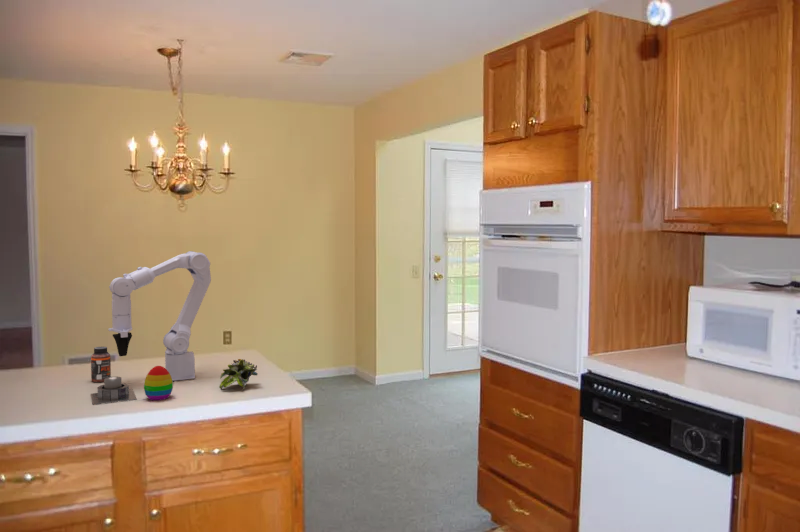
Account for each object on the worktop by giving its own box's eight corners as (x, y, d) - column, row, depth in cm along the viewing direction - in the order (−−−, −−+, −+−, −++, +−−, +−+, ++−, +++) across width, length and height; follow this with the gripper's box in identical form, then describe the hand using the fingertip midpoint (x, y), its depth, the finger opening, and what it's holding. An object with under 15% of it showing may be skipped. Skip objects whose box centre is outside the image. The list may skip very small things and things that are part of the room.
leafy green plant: (239, 401, 208) (257, 368, 212) (249, 403, 199) (268, 369, 203) (210, 384, 204) (229, 352, 208) (218, 386, 195) (238, 352, 199)
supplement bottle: (103, 383, 208) (102, 349, 207) (87, 382, 209) (86, 348, 208) (114, 378, 214) (114, 346, 213) (99, 377, 215) (98, 345, 214)
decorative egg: (148, 403, 186) (147, 370, 185) (141, 397, 193) (140, 365, 192) (176, 399, 191) (175, 366, 190) (168, 392, 197) (167, 361, 197)
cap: (120, 393, 195) (120, 375, 195) (122, 397, 191) (122, 378, 191) (103, 395, 193) (103, 377, 193) (105, 399, 189) (105, 380, 188)
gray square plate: (132, 389, 200) (132, 379, 200) (136, 399, 190) (136, 388, 190) (90, 394, 195) (90, 384, 194) (92, 404, 184) (92, 393, 184)
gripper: (106, 312, 208) (107, 352, 209) (109, 318, 195) (111, 361, 196) (129, 310, 211) (130, 350, 212) (134, 316, 199) (135, 359, 200)
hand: (122, 355), depth 205 cm, fingers closed
